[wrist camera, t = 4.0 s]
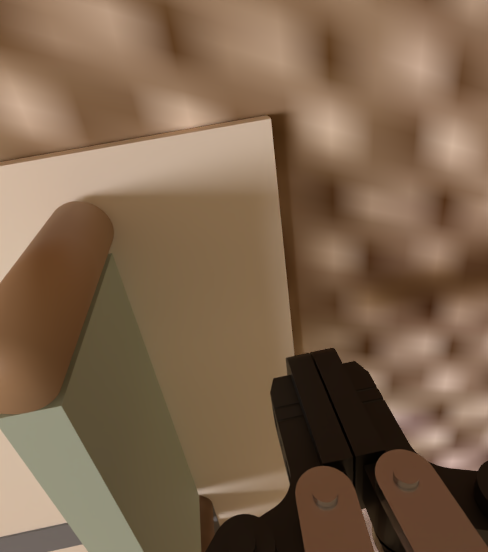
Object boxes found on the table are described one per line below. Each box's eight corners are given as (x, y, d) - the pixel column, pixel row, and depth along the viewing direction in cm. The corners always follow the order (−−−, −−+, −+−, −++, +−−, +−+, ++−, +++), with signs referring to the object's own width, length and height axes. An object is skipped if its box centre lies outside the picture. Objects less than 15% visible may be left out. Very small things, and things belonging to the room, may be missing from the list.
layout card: (266, 115, 12) (271, 118, 11) (317, 598, 29) (320, 609, 29) (-602, 267, 11) (-649, 281, 10) (-9, 672, 28) (-13, 686, 28)
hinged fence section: (102, 195, 11) (36, 323, 6) (205, 494, 19) (213, 659, 14) (39, 207, 11) (-82, 346, 6) (168, 502, 19) (163, 670, 14)
